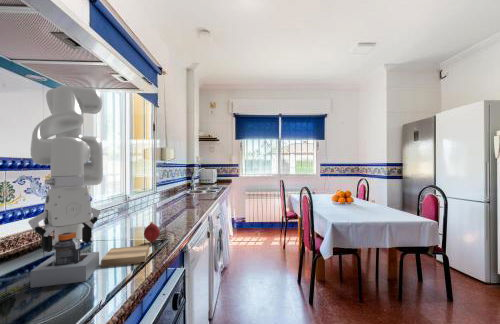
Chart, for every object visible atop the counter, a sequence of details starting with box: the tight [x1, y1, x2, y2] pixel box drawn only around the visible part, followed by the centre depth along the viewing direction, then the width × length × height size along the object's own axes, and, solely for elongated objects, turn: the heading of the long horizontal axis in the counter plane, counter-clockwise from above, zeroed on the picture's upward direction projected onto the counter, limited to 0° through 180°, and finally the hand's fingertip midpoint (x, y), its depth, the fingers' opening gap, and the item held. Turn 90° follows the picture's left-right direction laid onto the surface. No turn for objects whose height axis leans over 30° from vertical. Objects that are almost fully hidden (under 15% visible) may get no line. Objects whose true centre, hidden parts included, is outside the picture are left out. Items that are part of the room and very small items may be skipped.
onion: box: [143, 221, 161, 244], centre depth 104 cm, size 6×6×8 cm
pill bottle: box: [53, 232, 81, 266], centre depth 73 cm, size 6×6×11 cm
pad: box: [100, 244, 150, 268], centre depth 86 cm, size 12×12×2 cm
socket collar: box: [29, 251, 100, 288], centre depth 73 cm, size 12×12×4 cm
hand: (68, 246), depth 73 cm, fingers open, 9 cm apart
